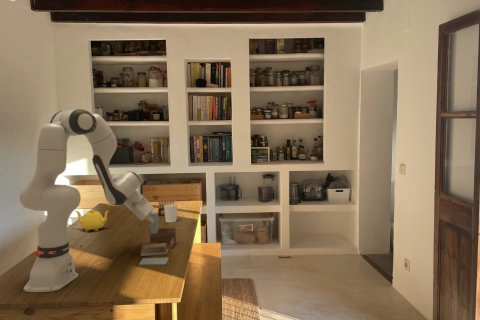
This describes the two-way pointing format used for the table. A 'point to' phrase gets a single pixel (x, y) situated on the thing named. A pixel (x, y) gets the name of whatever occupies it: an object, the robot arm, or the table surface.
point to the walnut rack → (164, 236)
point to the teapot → (92, 220)
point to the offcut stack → (154, 249)
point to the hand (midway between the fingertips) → (155, 220)
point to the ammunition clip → (161, 208)
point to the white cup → (170, 212)
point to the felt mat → (153, 261)
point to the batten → (154, 225)
